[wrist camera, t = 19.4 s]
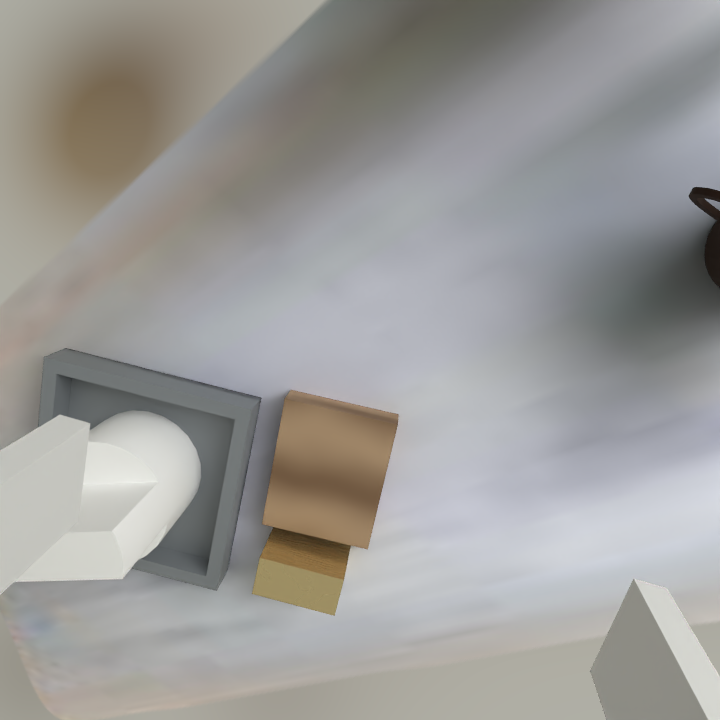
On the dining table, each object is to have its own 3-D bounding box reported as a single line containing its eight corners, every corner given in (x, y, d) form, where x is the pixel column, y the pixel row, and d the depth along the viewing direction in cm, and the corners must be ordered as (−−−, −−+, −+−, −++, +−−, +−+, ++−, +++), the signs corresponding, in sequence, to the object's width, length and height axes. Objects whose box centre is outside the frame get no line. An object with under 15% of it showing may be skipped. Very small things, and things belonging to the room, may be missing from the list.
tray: (65, 348, 43) (44, 356, 41) (261, 397, 43) (251, 409, 40) (49, 522, 47) (28, 540, 45) (227, 570, 47) (216, 590, 44)
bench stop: (276, 520, 45) (259, 557, 40) (351, 539, 45) (343, 579, 40) (269, 553, 46) (252, 593, 41) (343, 572, 46) (334, 615, 41)
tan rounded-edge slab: (292, 388, 43) (284, 398, 40) (398, 412, 42) (397, 424, 40) (270, 507, 45) (261, 524, 43) (370, 531, 45) (367, 549, 43)
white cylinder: (190, 406, 43) (105, 480, 31) (210, 517, 45) (137, 624, 33) (75, 413, 44) (-48, 487, 32) (100, 521, 46) (-7, 627, 34)
